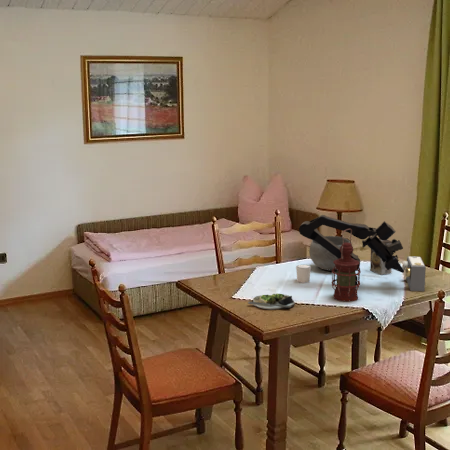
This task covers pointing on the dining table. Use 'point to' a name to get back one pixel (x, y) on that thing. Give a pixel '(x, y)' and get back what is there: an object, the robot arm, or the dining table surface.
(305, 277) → the white cup
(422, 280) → the console
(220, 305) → the dining table surface
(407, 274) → the brass button
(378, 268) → the coffee box
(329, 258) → the bowl
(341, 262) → the lantern
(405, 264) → the cream button
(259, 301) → the salad plate
